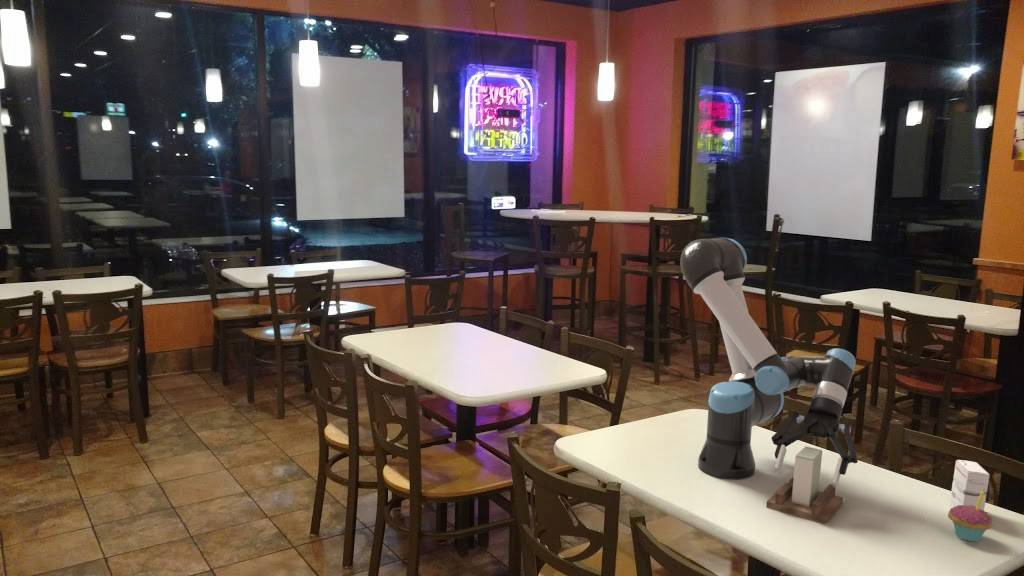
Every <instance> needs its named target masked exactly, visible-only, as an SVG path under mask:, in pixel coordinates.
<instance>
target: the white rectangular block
mask: <svg viewBox="0 0 1024 576" xmlns="http://www.w3.org/2000/svg"><path fill="white" fill-rule="evenodd" d="M952 479H953V480H952V483H951V484H952V485H951V493H950V498H949V506H950V507H951V508H953V507H955V506H960V505H964V506H965V505H967V506H969V505H970V506H971V505H973V506H977V503H978V500H979V497H980V494H981V491H983V490H984V489H985V490H984V492H985V493H984V496H983V499H982V502H981V505H980V509H982V510H984V511H985V506H986V500H987V494H988V489H989V488H988V487H989V482H990V473H989V472H988V471H986V469H984V468H983V467H982V466H981V465H980V464H979V463H978V462H976V461H970V460H967V459H966V460H965V459H956V460H955V465H954V473H953V477H952Z"/></svg>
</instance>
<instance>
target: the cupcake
mask: <svg viewBox="0 0 1024 576" xmlns="http://www.w3.org/2000/svg"><path fill="white" fill-rule="evenodd" d="M984 490H985V489H984ZM984 490H983V491H981V494H980V497H979V500H978V503H977V506H973V505H971V506H970V505H969V506H967V505H965V506H964V505H960V506H955V507H953V508H952V507H951V508H950V509H949V512H948V513H947V517H948V518H949V520H950V521H952V523H953V526H954V531H955V535H956V536H957V537H958V538H959V539H961V540H965V541H967V540H968V541H967V542H974V541H975V542H979V541H981V539H982V537H983V535H985V534H984V533H985V532H986V531H987V530H990V529H991V528H992V527H993V517H991V516H990V514H988V513H987V512H986V511H985V509H984V510H982V509H980V505H981V502H982V499H983V496H984V493H985V492H984Z"/></svg>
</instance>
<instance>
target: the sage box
mask: <svg viewBox="0 0 1024 576" xmlns="http://www.w3.org/2000/svg"><path fill="white" fill-rule="evenodd" d="M822 456H823V450H822V449H818V448H814V447H810V446H804V447H803V448H802V449H801V450H800V451H799V452H798V453H797V454H796V455H795V459H794V471H793V477H794V479H793V491H792V503H796V504H800V505H803V506H807V507H809V506H810V505H811V504H812V503H813V502H814V500H815V499H816V498H817V497H818V492H819V491H820V480H821V468H822V458H823V457H822Z"/></svg>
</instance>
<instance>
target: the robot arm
mask: <svg viewBox="0 0 1024 576" xmlns="http://www.w3.org/2000/svg"><path fill="white" fill-rule="evenodd" d="M679 261H680V262H679V264H680V271H681V273H682V275H683V277H684V279H685V281H686V283H687V285H688V286H689V287H690V289H691V290H692V292H693V293H694V294H696V295H700V297H701V298H702V299H703V301H704V302H705V304H706V305H707V306H708V308H709V309H710V310H711V312H712V313H713V315H714V316H715V317H716V319H717V320H718V322H719V327H720V331H721V335H722V338H723V343H724V345H725V349H726V353H727V357H728V361H729V365H730V368H731V372H732V373H731V376H730V377H729V379H728V382H727V381H722V382H718V383H716V384H715V385H713V386H712V387H711V389H710V392H709V397H708V409H707V425H706V427H707V428H706V438H705V441H704V444H703V447H702V449H701V451H700V453H699V456H698V460H697V461H698V464H697V467H698V466H699V467H698V468H699V469H700V470H701V472H703V473H705V474H707V473H708V474H707V475H711V476H713V477H717V478H722V479H729V480H730V479H731V480H742V479H749V478H751V477H753V476H754V475H755V473H756V461H755V458H754V453H753V450H752V445H751V441H752V429H753V427H754V426H756V425H759V424H762V423H765V422H769V421H771V420H773V418H775V417H777V416H778V415H779V414H780V413H781V411H782V409H783V406H784V404H785V395H784V393H785V392H787V391H790V390H793V389H796V388H799V387H801V386H812V387H813V386H814V387H815V389H814V393H813V396H812V399H811V402H810V405H809V408H808V411H807V414H806V415H801V414H799V413H798V412H797V411H795V412H793V414H792V415H791V418H790V419H789V420H788V421H787V422H786V423H785V424H784V425H783V426H782V427H781V428H780V429H778V431H776V432H775V433H774V434H773V435H772V436H771V441H772V444H773V445H775V446H776V448H775V451H774V458H775V459H776V461H775V463H774V464H775V465H774V469H775V473H777V474H780V472H781V468H782V466H783V463H784V460H785V457H786V454H787V447H788V446H790V445H792V444H793V443H796V442H797V441H799V440H801V439H802V438H804V437H807V436H809V435H811V436H813V437H819V438H821V439H825V438H828V439H829V440H830V443H832V445H833V446H834V448H835V449H836V451H837V453H838V454H839V456H840V457H838V460H837V463H836V466H835V470H834V473H833V477H832V481H831V482H832V485H833V487H836V489H837V488H838V484H839V481H840V478H841V475H843V476H845V475H846V474H847V469H848V466H849V464H850V463H851V464H852V463H853V464H857V463H858V462H859V460H858V455H857V452H856V449H855V445H854V443H853V439H852V436H851V435H852V427H851V424H850V422H845V424H844V423H840V419H841V416H842V412H843V408H844V406H845V402H846V399H847V396H848V391H849V388H850V384H851V381H852V378H853V376H854V374H855V368H856V357H855V356H854V355H853V354H852V353H851V351H849V350H846V349H843V348H838V347H837V348H831V349H828V350H827V351H826V353H825V355H824V357H820V356H819V357H809V356H808V357H805V356H795V355H794V356H793V355H790V356H782V357H781V356H780V355H779V353H778V352H777V350H775V348H774V346H772V344H771V342H770V341H769V340H768V338H767V337H766V336H765V335H764V333H763V332H762V330H761V329H760V327H759V326H758V324H757V323H756V322H755V320H754V319H753V318H752V316H751V314H749V309H748V306H747V302H746V299H745V294H744V291H743V287H742V286H743V283H744V281H745V279H746V276H745V272H744V270H745V269H746V266H747V262H748V257H747V253H746V251H745V248H744V247H743V246H742V244H740V242H738V241H736V240H735V239H733V238H728V237H715V238H700V239H699V238H698V239H695V240H692V241H691V242H689V243H688V244H687V245H686V246H685V247H684V248H683V250H682V252H681V255H680V260H679ZM802 422H804V424H802V425H801V426H800V427H799V428H797V426H798V425H800V424H801V423H802ZM795 428H797V429H796V430H794V429H795ZM839 430H841V431H840V432H841V433H842V434H844V436H845V437H844V438H845V440H846V444H847V448H848V451H849V455H848V453H847V452H846V451H845V448H844V447H843V446H842V444H841V443H840V441H839V439H838V437H837V436H836V432H837V431H839Z"/></svg>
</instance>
